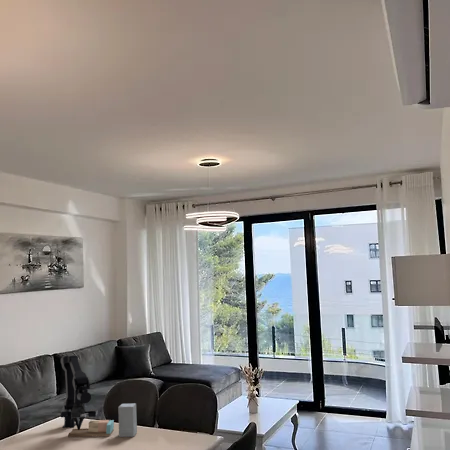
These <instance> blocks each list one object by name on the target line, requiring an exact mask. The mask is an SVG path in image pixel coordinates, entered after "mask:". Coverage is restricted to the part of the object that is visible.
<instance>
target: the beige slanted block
mask: <svg viewBox="0 0 450 450" xmlns="http://www.w3.org/2000/svg"><path fill="white" fill-rule="evenodd" d="M100 420H101V419H99V420H96V419H95V420H94V419H93V420H92V419H91V420H90V421H89V422H88V428H89V430H88V432H98V422H99V421H100Z"/></svg>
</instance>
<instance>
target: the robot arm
mask: <svg viewBox="0 0 450 450" xmlns="http://www.w3.org/2000/svg"><path fill="white" fill-rule="evenodd" d="M60 364H61V368H62V370H63V371H64V376H65V397H66V398H65V399H64V401H63V406H62V408H61V411H60V416H59V417H60V418H64V423H63V425H62V428H75V427H76V429H78V430H80V429H81V427H82V424H83V423H84V422H83V421H84V420H85V419H86V418H87V416H88V417H89V418H94V417H97V415H98V414H99V413H98V412H99V411H98V408H90V409H89V410H86V404H88V403H89V402H90V401H91V399H92V394H91V393H90V392H89V390H90V389H91V383H90V380H89V377H88V376H87V373H85V372H84V371H83V370H82V367H81V365H80V361H79V356H78V355H77V354H70V355H69V354H68V355H63V356H62V357H61V358H60Z"/></svg>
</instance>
